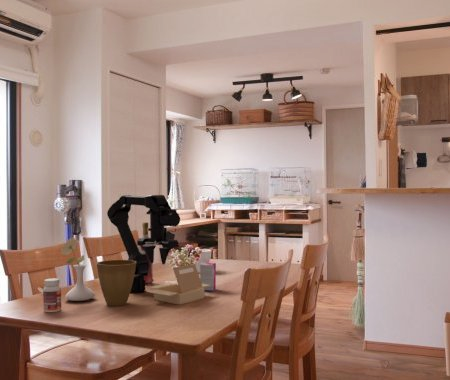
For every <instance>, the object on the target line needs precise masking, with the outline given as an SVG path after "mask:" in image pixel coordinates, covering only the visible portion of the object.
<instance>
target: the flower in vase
mask: <svg viewBox="0 0 450 380" xmlns="http://www.w3.org/2000/svg"><path fill="white" fill-rule="evenodd" d="M77 245H78V240H77V239H76V238H75V237H72V238H68V239H67V240H66V242H65V243H63V245H62V247H61V249H60V251H61V255H64V256H68V255H70V254H71V253H73V256H74V257H71V258H69V259H68V260H67V261H66V264H70V265H71V264H72V263H74V262H75V261H76V263H77V264H73V265H72V267H74V269H75V271H76V284H75V286H73V287H72V288H71V289H70V290H69V291H68V292H67V293H66V294H65V299H66V300H68V301H73V302H82V301H89V300H92V299H93V298H95V296H96V294H95V292H94V291H93V290H92V289H91V288H89V287H88V286H87V285H86V284H85V282H84V271H85V269H86V267H87V264H84V263H83V264H81V263H82V262H83V261H84V260H85V256H84V255H82V256H80V257H78V258H76V254H75V252H74V250H75V248H77ZM79 263H80V264H79Z"/></svg>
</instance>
